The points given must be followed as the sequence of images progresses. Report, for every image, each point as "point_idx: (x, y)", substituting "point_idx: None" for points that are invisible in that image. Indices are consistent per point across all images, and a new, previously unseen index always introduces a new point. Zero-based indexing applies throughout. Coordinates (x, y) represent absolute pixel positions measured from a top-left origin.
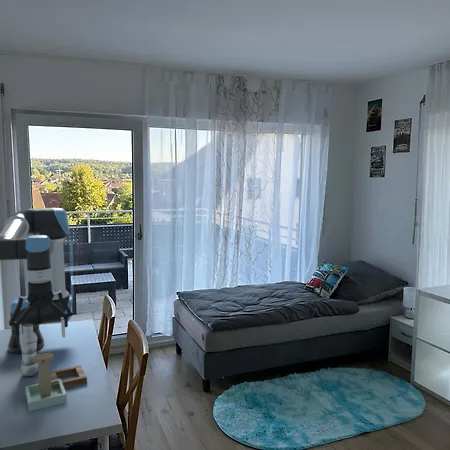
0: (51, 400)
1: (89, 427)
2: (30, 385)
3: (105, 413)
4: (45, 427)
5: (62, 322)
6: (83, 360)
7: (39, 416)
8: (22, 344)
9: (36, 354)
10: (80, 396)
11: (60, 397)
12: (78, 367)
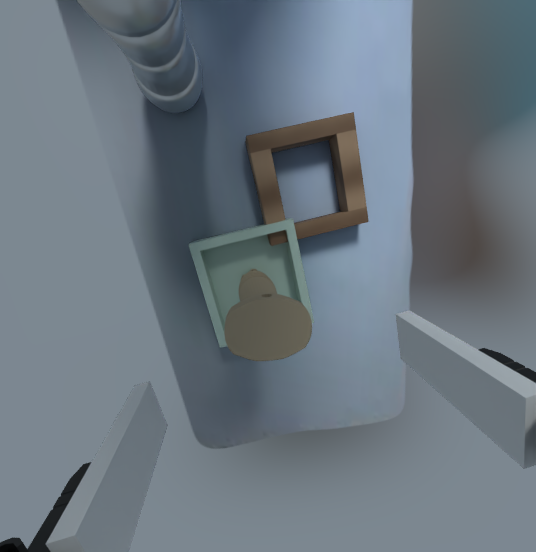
0: None
1: (353, 420)
2: (204, 241)
3: (387, 379)
4: (268, 405)
5: (497, 444)
6: (356, 15)
7: (249, 361)
8: (164, 429)
9: (187, 37)
10: (339, 291)
11: None
12: (346, 132)
